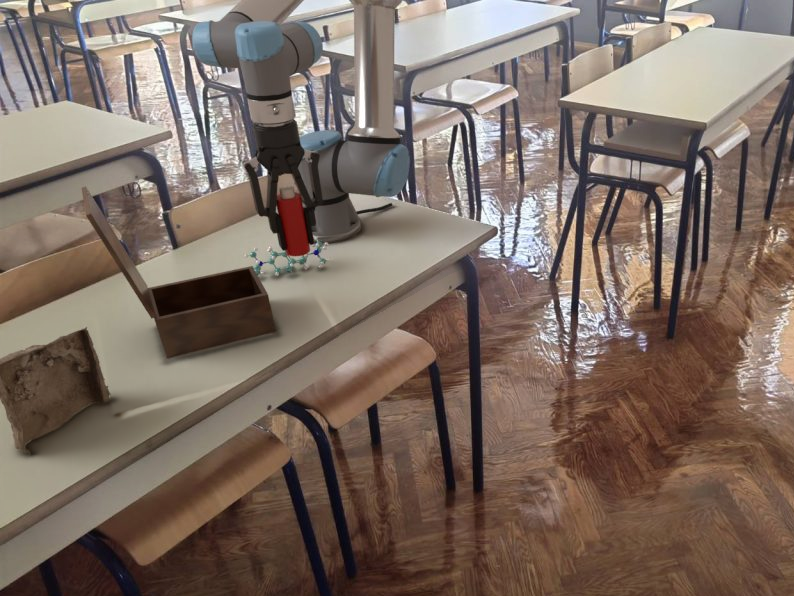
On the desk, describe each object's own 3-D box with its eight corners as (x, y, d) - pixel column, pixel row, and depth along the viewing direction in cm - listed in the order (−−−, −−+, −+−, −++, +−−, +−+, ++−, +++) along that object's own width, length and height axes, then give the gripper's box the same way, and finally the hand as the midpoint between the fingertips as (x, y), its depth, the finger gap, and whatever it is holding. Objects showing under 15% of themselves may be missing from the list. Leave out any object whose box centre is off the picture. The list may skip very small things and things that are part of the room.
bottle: (306, 244, 148) (295, 181, 141) (313, 253, 145) (302, 189, 138) (283, 249, 146) (270, 186, 139) (289, 258, 143) (276, 194, 136)
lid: (85, 186, 129) (81, 187, 129) (90, 213, 119) (85, 215, 119) (147, 285, 142) (142, 287, 142) (156, 317, 133) (151, 318, 132)
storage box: (261, 305, 155) (252, 265, 150) (276, 335, 145) (268, 294, 140) (158, 328, 148) (145, 288, 142) (168, 362, 138) (154, 320, 133)
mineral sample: (28, 457, 117) (-12, 376, 108) (11, 450, 118) (-30, 369, 109) (118, 399, 129) (88, 322, 120) (101, 393, 130) (71, 316, 122)
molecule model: (247, 273, 167) (240, 242, 162) (326, 257, 173) (322, 228, 168) (253, 289, 161) (246, 258, 156) (335, 272, 167) (330, 242, 162)
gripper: (226, 134, 125) (254, 262, 139) (330, 119, 132) (347, 242, 145) (217, 122, 131) (245, 246, 144) (318, 108, 137) (335, 228, 151)
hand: (296, 244), depth 145 cm, fingers closed on bottle, 5 cm apart
